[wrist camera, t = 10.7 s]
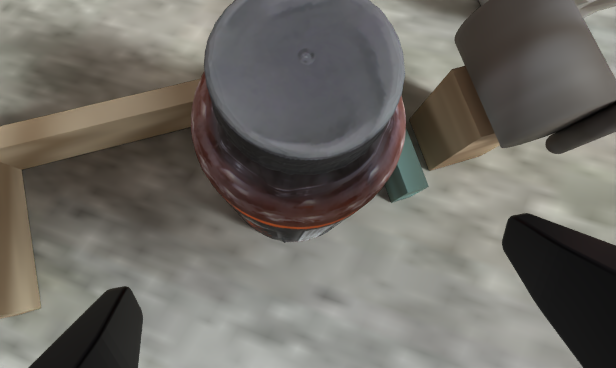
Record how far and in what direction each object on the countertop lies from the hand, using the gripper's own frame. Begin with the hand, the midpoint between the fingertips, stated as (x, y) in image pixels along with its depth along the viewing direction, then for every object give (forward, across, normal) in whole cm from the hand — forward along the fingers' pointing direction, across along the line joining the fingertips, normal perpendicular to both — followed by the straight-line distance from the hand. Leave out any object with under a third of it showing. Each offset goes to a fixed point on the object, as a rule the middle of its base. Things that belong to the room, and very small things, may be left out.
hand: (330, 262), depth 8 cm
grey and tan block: (+10, -8, +2) cm, 13 cm away
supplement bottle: (+9, 0, +4) cm, 10 cm away
